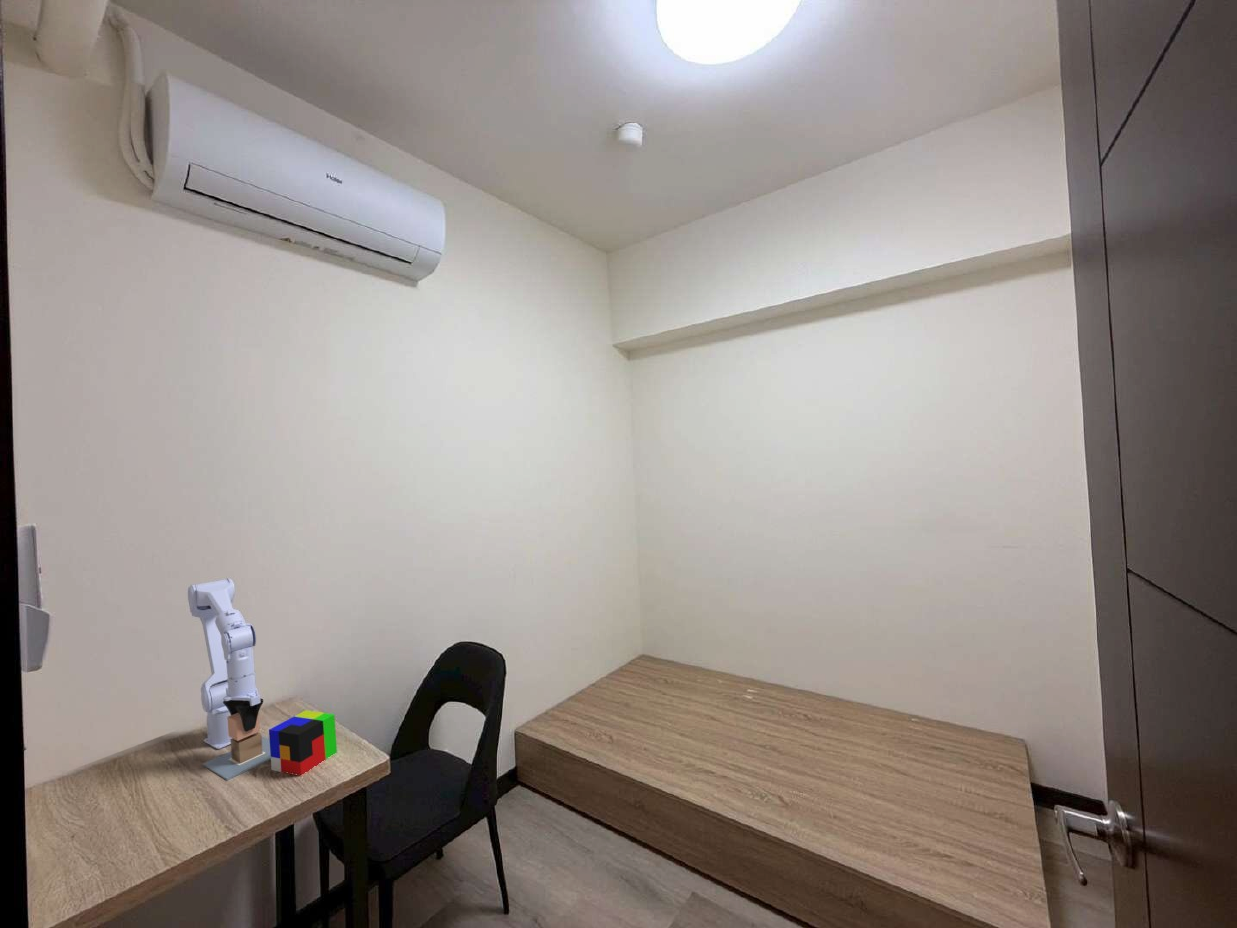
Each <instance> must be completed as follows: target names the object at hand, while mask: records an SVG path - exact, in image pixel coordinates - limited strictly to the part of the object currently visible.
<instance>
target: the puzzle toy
mask: <svg viewBox="0 0 1237 928" xmlns="http://www.w3.org/2000/svg"><path fill="white" fill-rule="evenodd" d="M335 718H336V716H335V714H334V713H326V712H321V711H313V710H304V711H302V712H300V713H298V714H296V715H294V716H292V717H291V718H289V719H287V720H285V721H283V722H280V723H279V724H277V725H275V726H274V727H272V728H269V729H268V736H269V738H268V739H269V740H270V754H271V760H270V765H271V771H274V772H279V773H280V772H281V773H284V772H288V773H287V774H289V773H293V774H297V775H296V776H298V775H302V774H304V773H305V772H307V773H308V772H310V771H311V770H313V769H314V768H313V767H314V766H316V767H317V765H318V764H319V763H321V762H322V761H324V760H325V761H327V760H328V759H329V758H328V757H330V756H331V755H333V754H335V753H336V754H338V749H337V748H338V746H337V745H338V744H337V731H336V719H335ZM336 754H335V755H336ZM333 756H334V755H333ZM327 758H328V759H327ZM330 758H331V757H330ZM326 759H327V760H326ZM325 761H324V762H325ZM322 763H323V762H322ZM322 763H321V764H322ZM319 765H320V764H319ZM319 765H318V766H319ZM312 768H313V769H312ZM310 769H311V770H310ZM309 770H310V771H309ZM293 774H292V775H293ZM305 774H306V773H305ZM305 774H304V775H305ZM302 776H303V775H302Z"/></svg>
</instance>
